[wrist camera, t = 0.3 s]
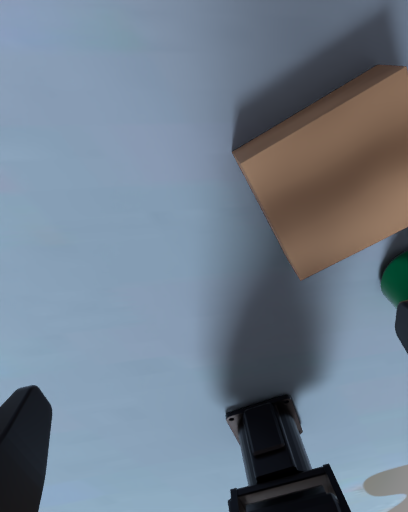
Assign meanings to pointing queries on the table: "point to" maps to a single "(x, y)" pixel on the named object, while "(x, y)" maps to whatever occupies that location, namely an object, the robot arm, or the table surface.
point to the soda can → (396, 279)
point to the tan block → (335, 171)
